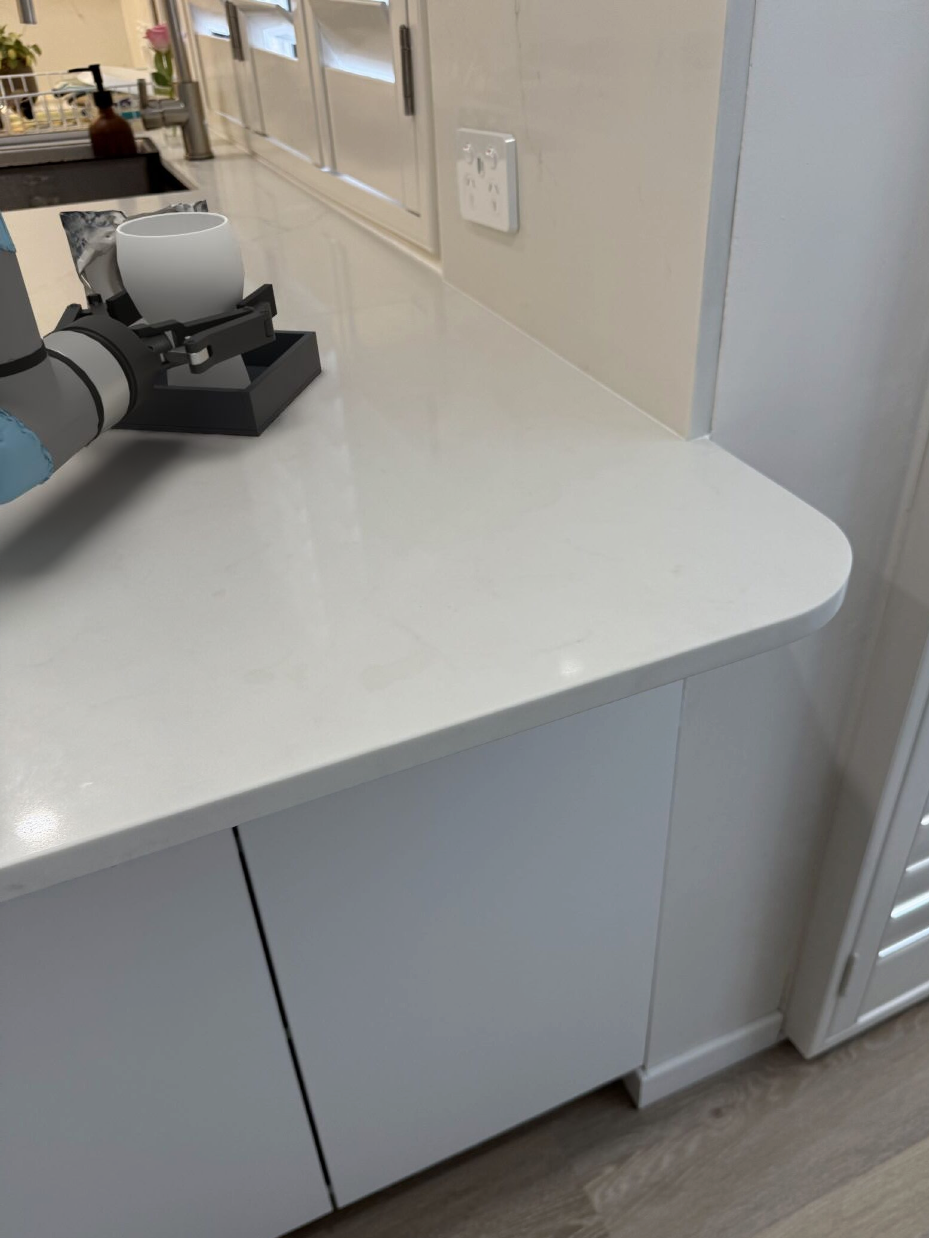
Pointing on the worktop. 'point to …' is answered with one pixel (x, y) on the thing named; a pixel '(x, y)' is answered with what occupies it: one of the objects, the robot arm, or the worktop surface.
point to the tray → (235, 392)
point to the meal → (105, 245)
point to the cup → (184, 280)
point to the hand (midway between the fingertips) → (209, 297)
